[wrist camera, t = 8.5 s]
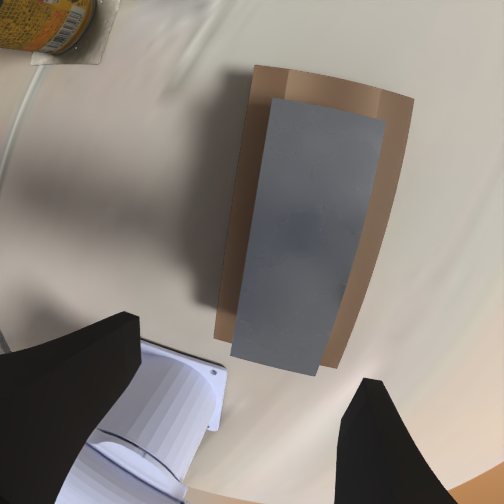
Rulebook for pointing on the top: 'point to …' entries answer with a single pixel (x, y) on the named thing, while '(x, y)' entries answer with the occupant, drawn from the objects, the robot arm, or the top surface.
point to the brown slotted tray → (248, 171)
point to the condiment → (57, 29)
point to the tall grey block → (304, 232)
